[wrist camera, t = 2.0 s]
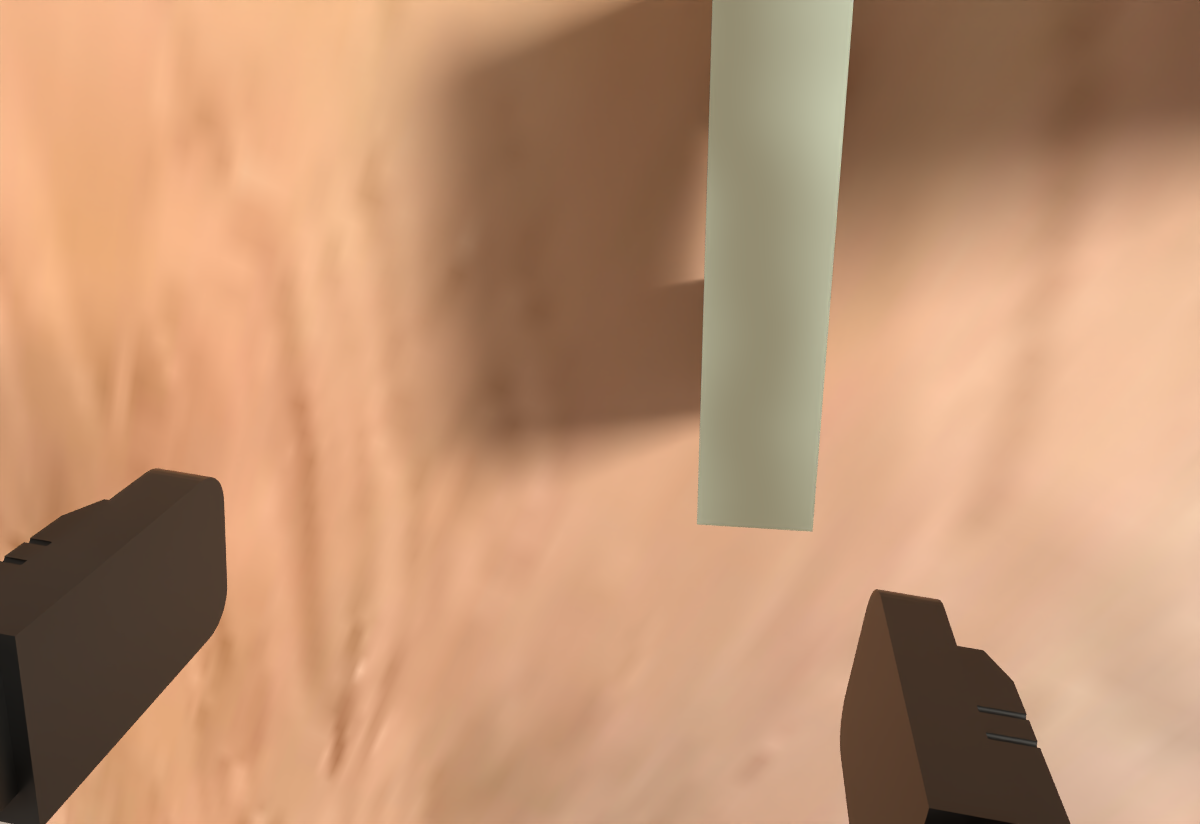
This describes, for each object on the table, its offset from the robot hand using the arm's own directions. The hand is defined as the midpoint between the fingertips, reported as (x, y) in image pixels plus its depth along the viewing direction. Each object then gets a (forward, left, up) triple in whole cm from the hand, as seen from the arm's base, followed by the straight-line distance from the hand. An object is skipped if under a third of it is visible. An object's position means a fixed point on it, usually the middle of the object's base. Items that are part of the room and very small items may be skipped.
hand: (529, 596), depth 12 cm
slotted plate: (-3, -1, -23) cm, 24 cm away
